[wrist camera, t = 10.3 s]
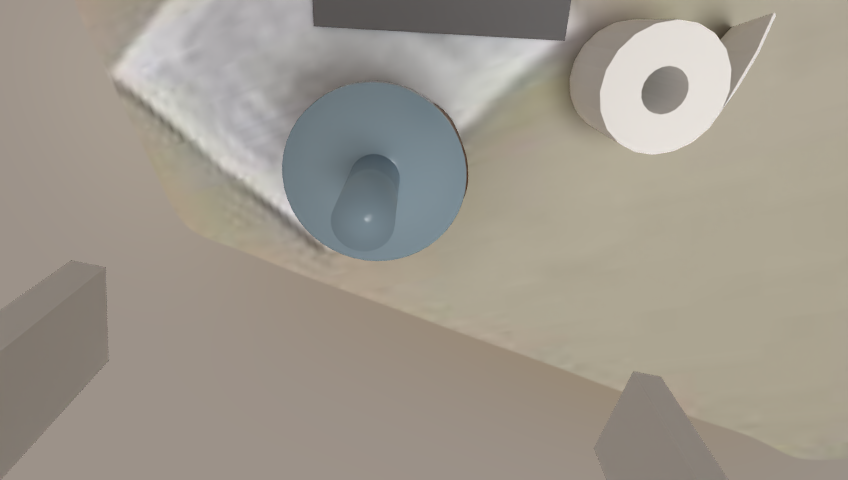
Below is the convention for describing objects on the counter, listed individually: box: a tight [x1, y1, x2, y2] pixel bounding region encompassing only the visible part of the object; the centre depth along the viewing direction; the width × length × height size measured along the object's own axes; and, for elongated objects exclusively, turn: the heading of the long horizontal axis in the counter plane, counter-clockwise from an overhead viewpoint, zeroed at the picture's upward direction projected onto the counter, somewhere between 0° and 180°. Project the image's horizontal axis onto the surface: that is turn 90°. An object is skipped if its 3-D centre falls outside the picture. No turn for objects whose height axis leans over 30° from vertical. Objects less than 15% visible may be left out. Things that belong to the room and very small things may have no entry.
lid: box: [282, 81, 466, 261], centre depth 27 cm, size 11×11×8 cm
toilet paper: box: [569, 13, 776, 155], centre depth 34 cm, size 8×11×7 cm
